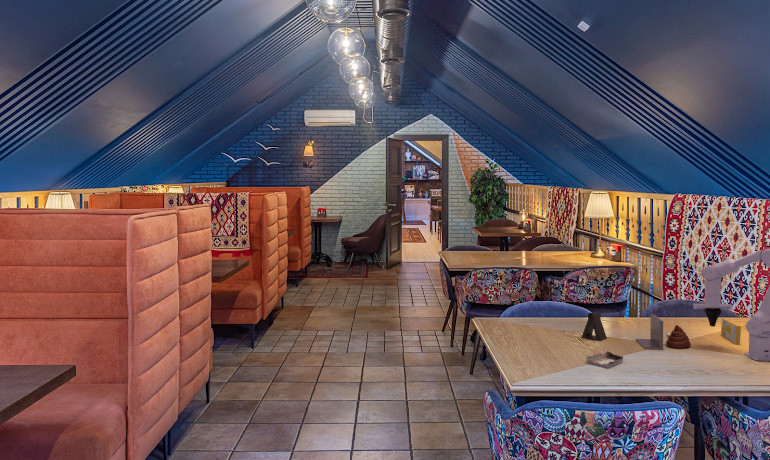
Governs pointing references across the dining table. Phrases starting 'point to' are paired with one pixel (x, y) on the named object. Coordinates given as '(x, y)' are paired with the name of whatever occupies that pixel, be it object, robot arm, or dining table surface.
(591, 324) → the phone stand
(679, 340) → the poop emoji
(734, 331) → the candy box
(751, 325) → the robot arm
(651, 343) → the bookend
